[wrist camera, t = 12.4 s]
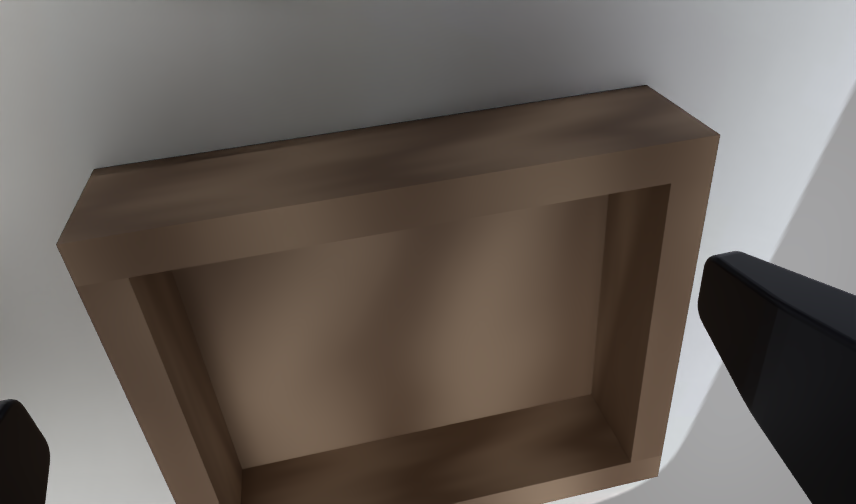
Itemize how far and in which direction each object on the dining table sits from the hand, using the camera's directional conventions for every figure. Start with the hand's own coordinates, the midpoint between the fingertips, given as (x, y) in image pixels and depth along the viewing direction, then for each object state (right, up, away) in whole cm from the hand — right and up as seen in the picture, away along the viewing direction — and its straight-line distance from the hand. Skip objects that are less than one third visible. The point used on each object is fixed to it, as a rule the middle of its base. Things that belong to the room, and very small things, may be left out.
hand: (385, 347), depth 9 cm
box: (0, -1, +14) cm, 15 cm away
